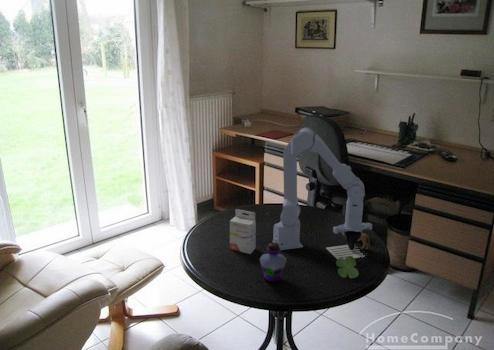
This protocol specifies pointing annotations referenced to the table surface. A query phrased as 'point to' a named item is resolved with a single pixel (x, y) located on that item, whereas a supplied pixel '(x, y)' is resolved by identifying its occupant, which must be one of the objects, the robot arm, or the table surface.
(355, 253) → the white slatted trivet
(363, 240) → the lion figurine
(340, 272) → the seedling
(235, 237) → the ink cartridge box
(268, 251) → the potion bottle
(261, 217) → the table surface
